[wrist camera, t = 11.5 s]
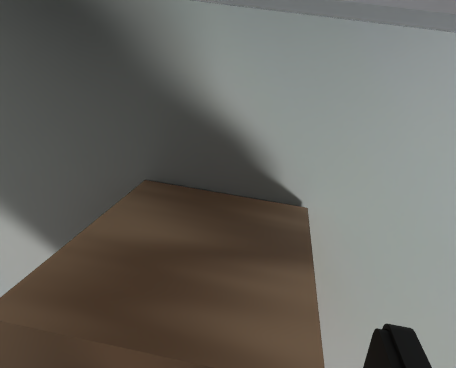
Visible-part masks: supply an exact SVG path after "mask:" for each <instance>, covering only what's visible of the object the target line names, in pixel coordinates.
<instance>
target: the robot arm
mask: <svg viewBox="0 0 456 368" xmlns="http://www.w3.org/2000/svg"><path fill="white" fill-rule="evenodd" d="M363 368H432V367H431V365H430V363H429V361H428V359H427V356H426V354H425V352H424V350H423V348H422V346H421V344H420V342H419V340H418V338H417V335H416V333H415V332H414V330H413V329H411V328H407V327H402V326H396V325H391V324H385V325H384V326H383V328H382V329H375V330H374V332H373V335H372V339H371V342H370V346H369V349H368V353H367V356H366V360H365V363H364V367H363Z"/></svg>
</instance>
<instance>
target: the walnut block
mask: <svg viewBox="0 0 456 368" xmlns="http://www.w3.org/2000/svg"><path fill="white" fill-rule="evenodd" d="M0 368H324V359H323V349H322V340H321V331H320V321H319V312H318V302H317V293H316V284H315V274H314V265H313V255H312V246H311V236H310V227H309V218H308V208H305V207H299V206H293V205H288V204H282V203H276V202H270V201H264V200H258V199H253V198H247V197H241V196H235V195H229V194H224V193H218V192H212V191H206V190H200V189H195V188H189V187H183V186H177V185H171V184H165V183H160V182H154V181H148V180H144V181H143V182H142V183H141V184H140V185H138V186H137V187H136V188H135V189H133V190H132V191H131V192H130V193H128V194H127V195H126V196H125V197H124V198H122V199H121V200H120V201H119V202H117V203H116V204H115V205H114V206H112V207H111V208H110V209H109V210H108V211H106V212H105V213H104V214H103V215H101V216H100V217H99V218H98V219H96V220H95V221H94V222H93V223H92V224H90V225H89V226H88V227H87V228H85V229H84V230H83V231H82V232H81V233H79V234H78V235H77V236H76V237H74V238H73V239H72V240H71V241H69V242H68V243H67V244H66V245H65V246H63V247H62V248H61V249H60V250H58V251H57V252H56V253H55V254H53V255H52V256H51V257H50V258H49V259H47V260H46V261H45V262H44V263H42V264H41V265H40V266H39V267H37V268H36V269H35V270H34V271H33V272H31V273H30V274H29V275H28V276H26V277H25V278H24V279H23V280H21V281H20V282H19V283H18V284H17V285H15V286H14V287H13V288H12V289H10V290H9V291H8V292H7V293H5V294H4V295H3V296H2V297H1V298H0Z"/></svg>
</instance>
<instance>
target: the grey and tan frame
mask: <svg viewBox="0 0 456 368" xmlns="http://www.w3.org/2000/svg"><path fill="white" fill-rule="evenodd" d="M192 1H200V2H209V3H217V4H225V5H233V6H241V7H250V8H258V9H266V10H274V11H283V12H291V13H299V14H307V15H316V16H324V17H332V18H340V19H349V20H357V21H365V22H373V23H381V24H390V25H398V26H406V27H414V28H423V29H431V30H439V31H447V32H456V0H192Z"/></svg>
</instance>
